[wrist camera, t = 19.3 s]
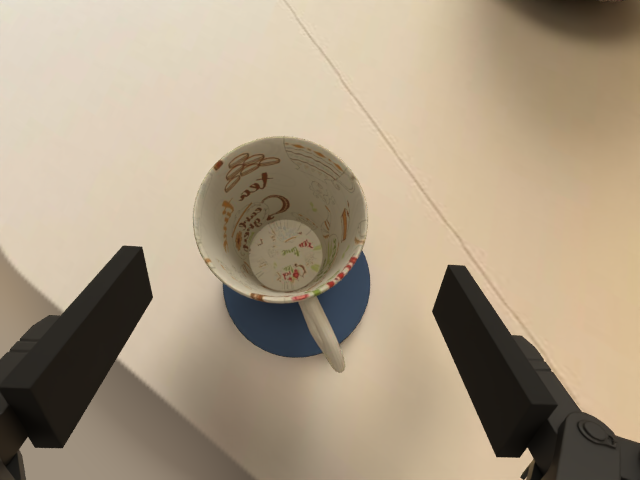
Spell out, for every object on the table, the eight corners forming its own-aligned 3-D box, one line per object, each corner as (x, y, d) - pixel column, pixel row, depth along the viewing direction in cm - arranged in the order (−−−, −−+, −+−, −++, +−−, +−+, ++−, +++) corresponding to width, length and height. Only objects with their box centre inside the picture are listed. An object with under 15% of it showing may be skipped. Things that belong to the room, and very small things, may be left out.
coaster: (237, 372, 24) (235, 374, 24) (215, 227, 27) (212, 224, 26) (383, 337, 26) (386, 338, 25) (349, 202, 28) (351, 199, 27)
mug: (311, 187, 27) (321, 112, 18) (386, 332, 25) (445, 337, 15) (212, 229, 26) (165, 173, 16) (282, 388, 24) (276, 432, 14)
